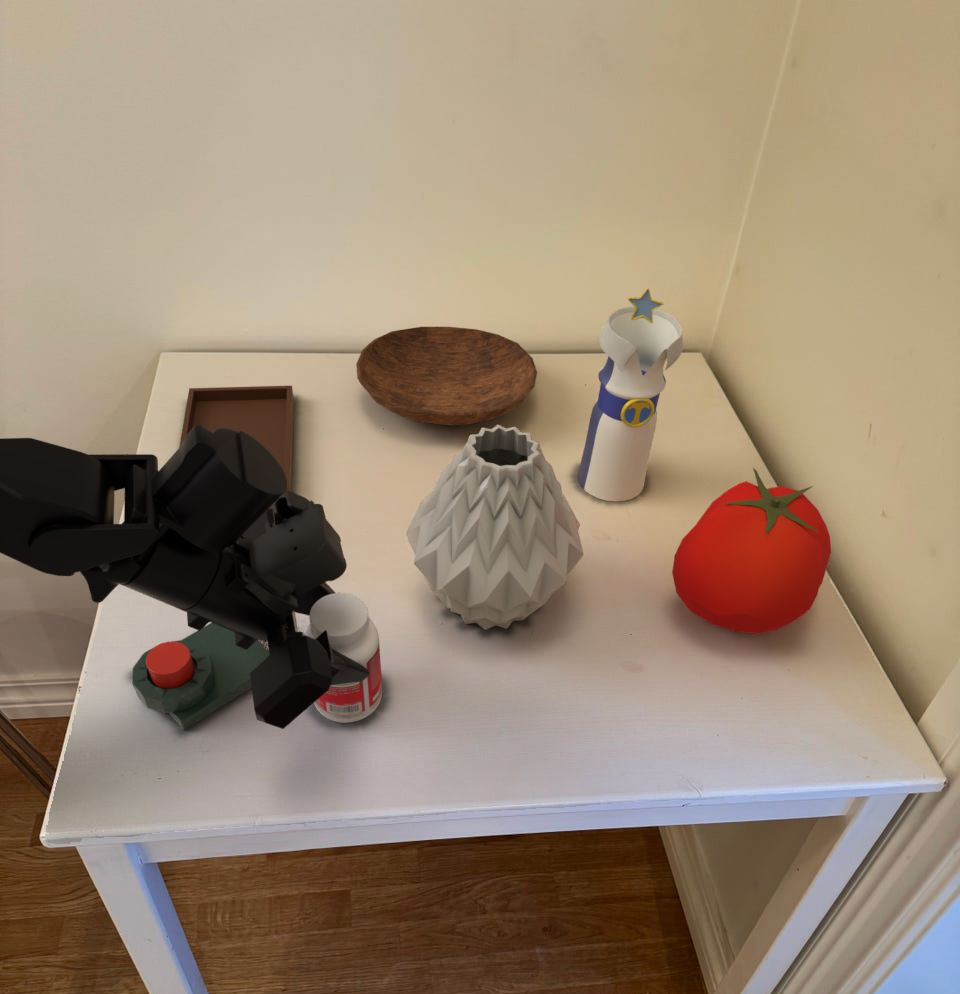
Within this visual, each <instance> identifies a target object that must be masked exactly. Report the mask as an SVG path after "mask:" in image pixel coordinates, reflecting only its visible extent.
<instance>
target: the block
mask: <svg viewBox="0 0 960 994" xmlns="http://www.w3.org/2000/svg"><path fill="white" fill-rule="evenodd" d="M171 642H179V643H182V644H184V645H185V646H186V647H187V648H188V649H189V651H190V655H191V658H192V661H193V664H194V668H195V671H194V674H193V677H192V678H191V679H190V680H189V681H188V682H187V683H186V684H184V685H182V686H180V687H178V688H172V689H164V688H161V687H158V686H157V685H156V684H154V682H153V681H152V678H151V676H150V673H149V671H148V668H147V665H146V657H147V655H148V653H149V652H150V650H152V649H153V648H154V647H152V648H150V649H148V650H146V651H145V652H143V653H142V654H141V656H140V657H139V658H138V660H137V662H136V663H135V664H134V666H133V667H132V686H133V688H134V691H135V693H136V696H137V697H138V699H139V700H140V701H141V703H142V704H144V706H145V707H146V708H147V709H149V710H153V711H157V712H159V713H165V714H169V716H170V717H171V718H172V719H173V721H175V722H176V723H177V725H178V726H179V727H180V728H181V729H182V730H183V731H185V730H187V729H188V728H190V727H192V726H193V725H195V724H196V723H198V722H200V721H201V720H203V719H204V718H206V717H207V716H209V715H210V714H212V713H214V712H216V711H218V710H219V709H220V708H222V707H224V706H225V705H226V704H228V703H230V702H231V701H233V700H234V699H236V698H238V697H239V696H241V695H242V694H244V693H246V692H247V691H248V690H250V689H252V687H251V679H250V673H251V672H252V671H253V670H254V669H255V668H256V667H257V666H258V665H259V664H260V663H261V662H263V661H264V660H265V659H266V658H267V657H268V656H269V649H267V648H266V647H265V646H264V645H263V644H262V643H261V641H259V640H257V641H256V642H255V643H254V644H253V645H252V646H250V647H249V648H248V649H247V650H246V649H243V648H241V647H238V646H236V643H235V634H234V632H233V631H231V630H228V629H226V628H223V627H221V626H219V625H216V624H214V623H211V622H209V623H208V624H206V625H205V626H204V627H203V628H202V629H201V630H200V631H199V630H196V631H195V632H193V633H191V634H189V635H187V636H186V637H184V638H182V639H180V640H173V641H171Z"/></svg>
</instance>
